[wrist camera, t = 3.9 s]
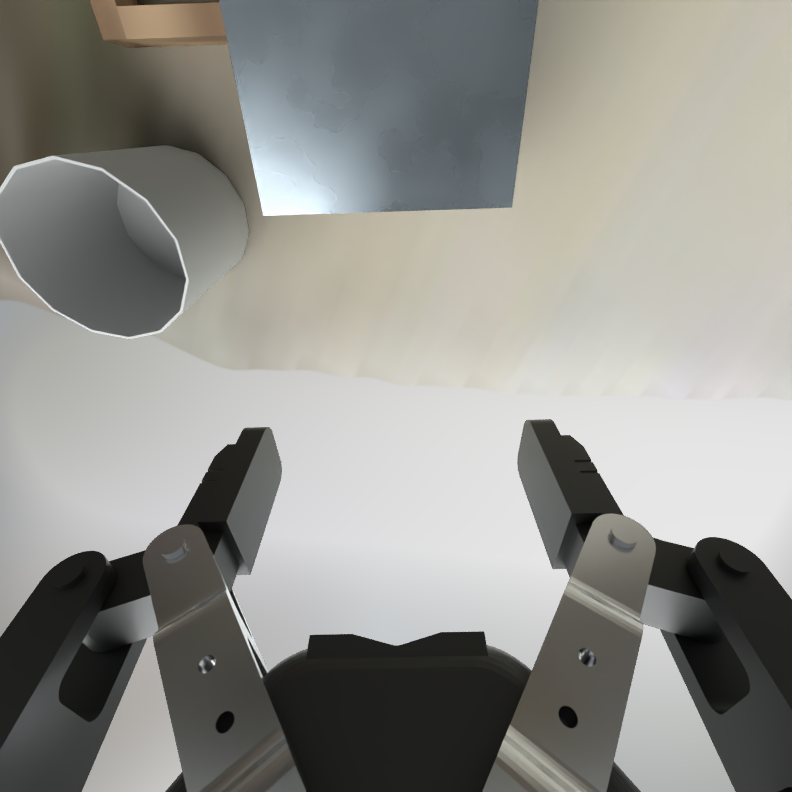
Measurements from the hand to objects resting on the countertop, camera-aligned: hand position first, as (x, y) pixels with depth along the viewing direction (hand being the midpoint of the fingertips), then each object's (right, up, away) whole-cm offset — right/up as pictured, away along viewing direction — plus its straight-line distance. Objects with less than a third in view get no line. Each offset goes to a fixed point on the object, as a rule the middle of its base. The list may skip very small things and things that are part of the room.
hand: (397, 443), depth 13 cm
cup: (-14, +14, +14) cm, 25 cm away
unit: (-1, +19, +11) cm, 22 cm away
